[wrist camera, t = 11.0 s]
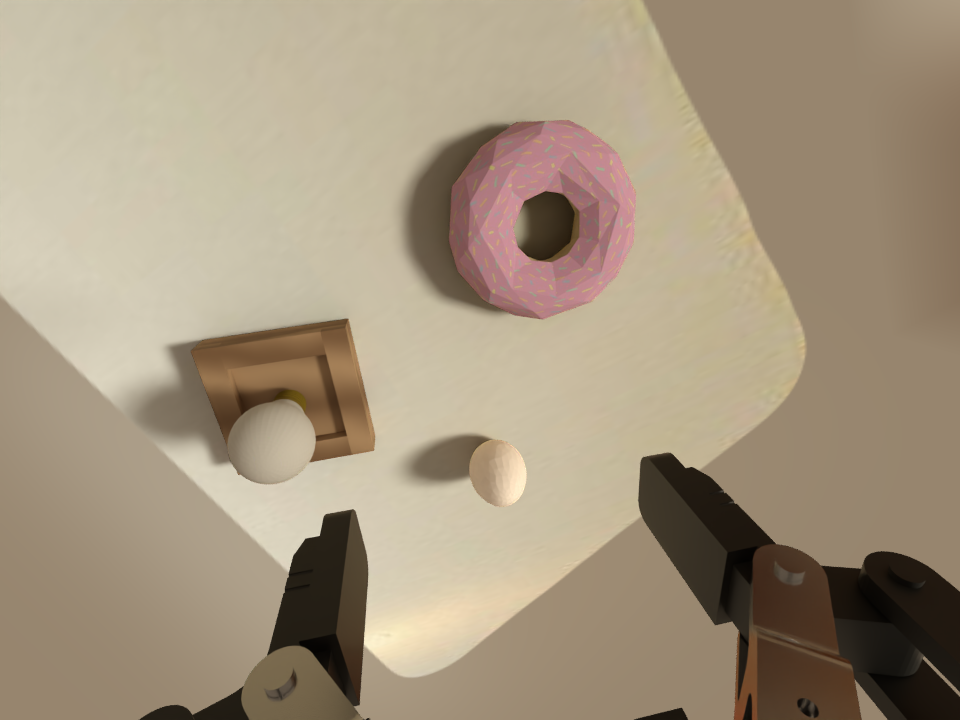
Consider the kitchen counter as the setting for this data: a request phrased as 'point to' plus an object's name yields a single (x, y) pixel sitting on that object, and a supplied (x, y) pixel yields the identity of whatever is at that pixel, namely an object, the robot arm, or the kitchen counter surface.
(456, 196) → the donut
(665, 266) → the kitchen counter surface
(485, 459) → the egg
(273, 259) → the kitchen counter surface
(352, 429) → the base
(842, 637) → the robot arm
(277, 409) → the light bulb
